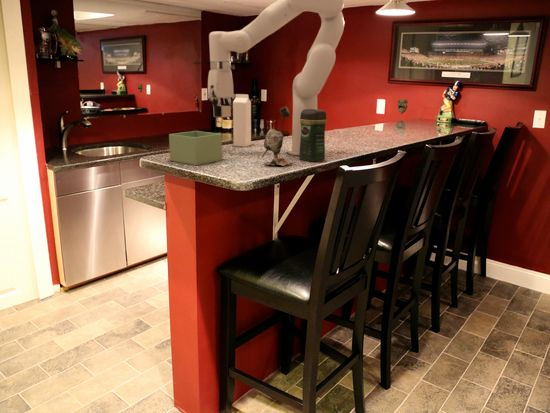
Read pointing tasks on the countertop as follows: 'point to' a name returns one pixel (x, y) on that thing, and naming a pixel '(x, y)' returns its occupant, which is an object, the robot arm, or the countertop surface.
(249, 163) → the countertop surface
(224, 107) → the beige grey block
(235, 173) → the countertop surface
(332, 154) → the countertop surface
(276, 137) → the plant with pod
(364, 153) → the countertop surface
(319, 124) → the coffee jar
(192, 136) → the bin
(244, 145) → the milk
